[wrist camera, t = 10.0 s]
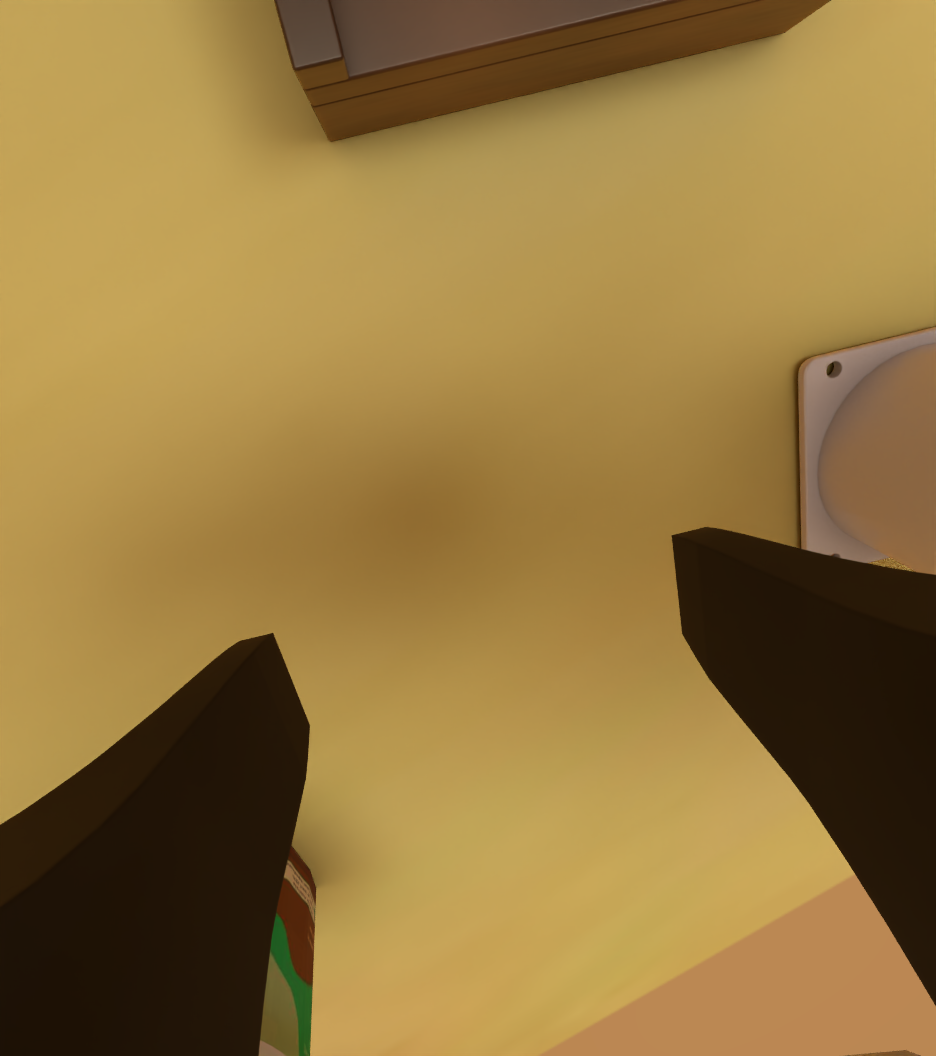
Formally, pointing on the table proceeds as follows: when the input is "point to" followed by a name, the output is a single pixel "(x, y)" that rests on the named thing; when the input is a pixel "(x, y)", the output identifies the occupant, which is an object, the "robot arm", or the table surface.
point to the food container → (290, 966)
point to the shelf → (494, 48)
